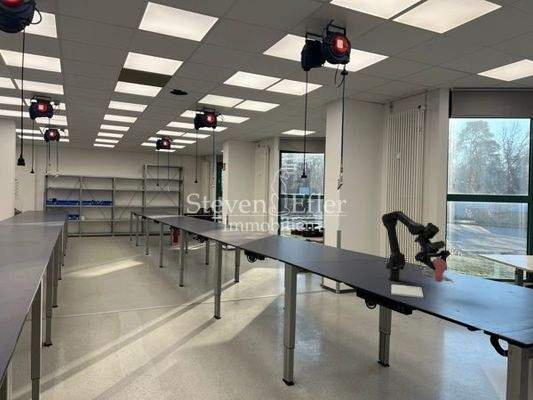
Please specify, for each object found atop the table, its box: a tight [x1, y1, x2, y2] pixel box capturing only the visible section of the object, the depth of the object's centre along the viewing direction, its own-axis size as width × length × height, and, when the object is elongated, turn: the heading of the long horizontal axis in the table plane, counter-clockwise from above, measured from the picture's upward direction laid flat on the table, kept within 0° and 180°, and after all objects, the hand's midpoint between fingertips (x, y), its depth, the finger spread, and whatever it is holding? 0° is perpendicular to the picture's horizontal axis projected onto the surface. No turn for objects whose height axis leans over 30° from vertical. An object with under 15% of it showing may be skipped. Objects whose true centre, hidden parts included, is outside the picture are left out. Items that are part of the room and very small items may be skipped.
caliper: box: [422, 265, 454, 283], centre depth 238 cm, size 20×1×6 cm, turn 30°
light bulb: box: [431, 257, 447, 283], centre depth 198 cm, size 7×7×12 cm
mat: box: [390, 284, 424, 299], centre depth 203 cm, size 19×15×1 cm
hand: (440, 269), depth 197 cm, fingers closed on light bulb, 7 cm apart
